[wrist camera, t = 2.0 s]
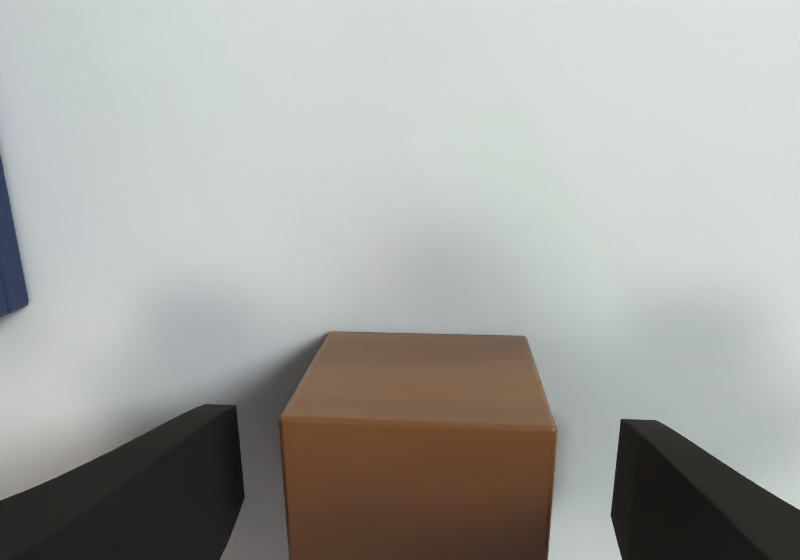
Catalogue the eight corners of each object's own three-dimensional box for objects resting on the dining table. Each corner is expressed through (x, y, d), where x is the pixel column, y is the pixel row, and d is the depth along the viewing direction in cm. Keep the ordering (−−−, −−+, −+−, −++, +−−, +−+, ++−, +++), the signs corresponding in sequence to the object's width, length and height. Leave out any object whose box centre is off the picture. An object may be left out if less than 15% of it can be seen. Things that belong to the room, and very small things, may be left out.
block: (328, 329, 12) (276, 417, 8) (527, 334, 11) (558, 427, 8) (335, 497, 13) (292, 637, 9) (517, 506, 12) (542, 654, 9)
